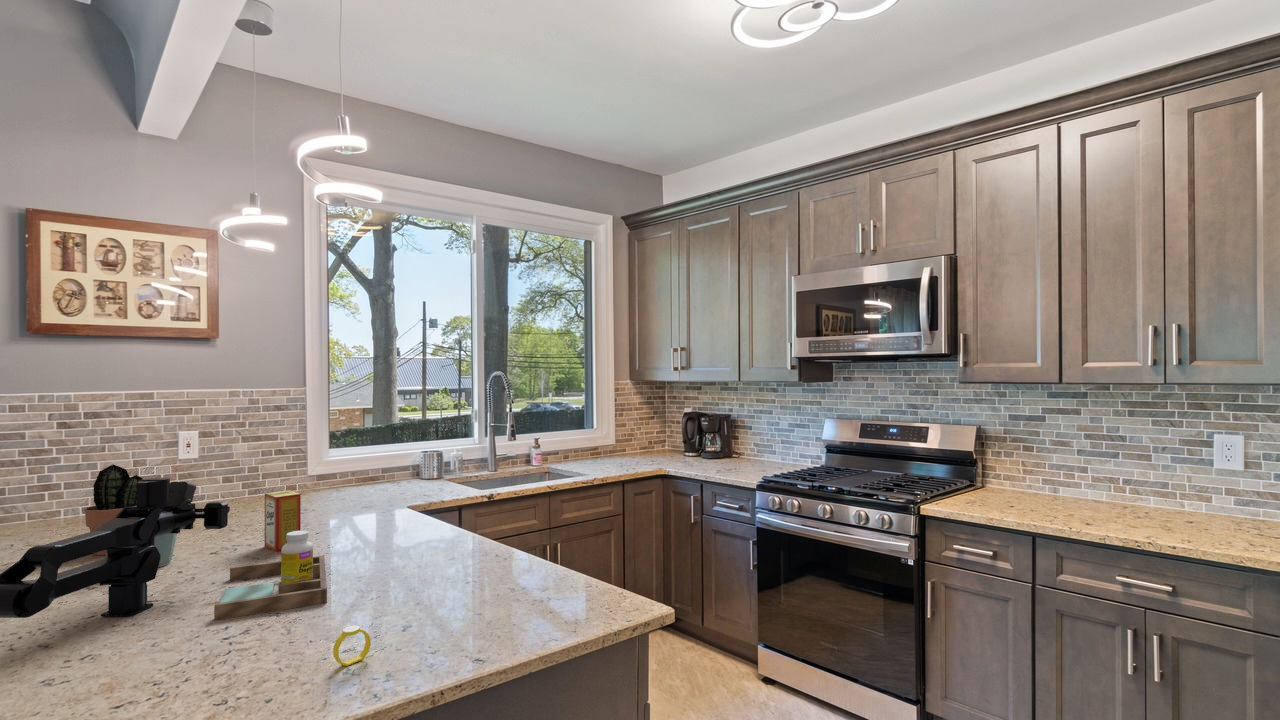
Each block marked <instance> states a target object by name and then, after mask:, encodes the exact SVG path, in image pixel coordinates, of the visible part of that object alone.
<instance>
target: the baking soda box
mask: <svg viewBox="0 0 1280 720" xmlns="http://www.w3.org/2000/svg"><path fill="white" fill-rule="evenodd" d="M301 498H302V497H301V493H299V492H295V491H293V490H289V489H288V490H287V489H286V490H281V491H273V492H267V493H264V547H265V548H266V549H269V550H270V551H273V552H275V553H279V552H280V553H281V550H282V547H283V546H284V545H285V544H287V539H286V534H287V533H289V532H293V531H301V507H302V506H301V505H302V504H301V501H302V500H301Z"/></svg>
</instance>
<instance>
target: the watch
mask: <svg viewBox="0 0 1280 720" xmlns="http://www.w3.org/2000/svg"><path fill="white" fill-rule="evenodd" d="M359 633H361V634H362V635H363V636H364V640H365V644H364V646H363V650H361V652H360V654H359V655H358V656H356V657H354V658H351V659H349V660H347V661H342V660H341V658H340V656H339V655H340V654H339V653H340V652H339V651H340V650H339V649H340V647H341V644H342V642H343V641H344V640H345V639H346V638H347V637H350V636H351V637H352V636H355V635H357V634H359ZM371 643H372V641H371V636H370V634H369V633H368V632H367V631H366V630H364V629H362V628H361V627H360V625H350V626H347V627H344V628H343V629H342V633H341V634H340V635H339V636H338V637H337V638H336V640H335V642H334V644H333V648H332V652H333V653H332V655H333V658H334V659H335V661H336V663H338V664H340V665H342V666H344V667H348V666H350V665H353V664H355V663H358V662H360V661H363V660H364V659H365V658H366V656H367V655H368V654H369V652H370V649H371Z"/></svg>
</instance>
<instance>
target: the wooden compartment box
mask: <svg viewBox="0 0 1280 720" xmlns="http://www.w3.org/2000/svg"><path fill="white" fill-rule="evenodd" d="M325 561H326V560H325V555H316V556H313V578H317V579H313V580H309V581H302V582H295V583H288V584H281V583H280V584H278V591H277V592H278V594H273V592H274V587H275V582H267V583H260V584H253V585H252V584H251V585H245V586H237V587H230V588H225V589H224V590H223V593H222V595H221V598H220V601H219V602H217V603H214V605H213V607H214V609H213V611H214V612H213V616H214V617H213V619H214V621H218V620H224V619H231V618H237V617H242V616H243V617H244V616H250V615H255V614H263V613H267V612H268V613H269V612H276V611H282V610H287V609H294V608H300V607H308V606H314V605H320V604H327V603H328V585H327V574H326V572H327V570H326V562H325ZM275 575H281V560H275V561H270V562H269V561H268V562H261V563H254V564H253V563H252V564H246V565H245V564H244V565H237V566H230V567H229V581H238V580H246V579H252V578H260V577H268V576H275Z"/></svg>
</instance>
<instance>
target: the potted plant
mask: <svg viewBox="0 0 1280 720" xmlns="http://www.w3.org/2000/svg"><path fill="white" fill-rule="evenodd" d="M142 479H144V478H142V477H141V476H139V475H138V474H134V475H133V476H131V477H130V475H129V473H128V470H127V469H126V468H124V467H121V466H119V465H116V464H113V463H112V464H111V465H109V466H107V467H105V468H103V469H102V470H99V472H98V474H97V476H96V479H95V480H94V484H93V503H94V505H92V506H88V507H86V508H85V509H84V518H85V526H86V527H88V529H89V532H92V531H95V530H97V529H99V528H100V526H101V525H102V524H104V523H107V522H109V521H111V520H113V519H114V518H115V517H116V516H117V515H118V514H119V513H120V512H121V511H122V509H123V508H124V507H134V506H137V490H136V484H137V483H138V482H139V481H140V480H142ZM95 555H98V556H106V555H107V549H106V550H103V551H100V552H97V553H95Z"/></svg>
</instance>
